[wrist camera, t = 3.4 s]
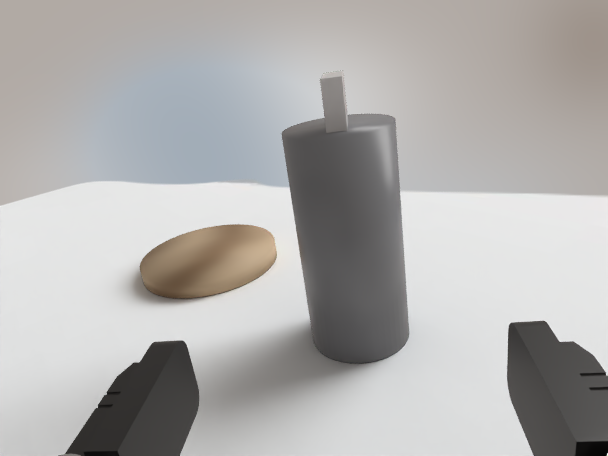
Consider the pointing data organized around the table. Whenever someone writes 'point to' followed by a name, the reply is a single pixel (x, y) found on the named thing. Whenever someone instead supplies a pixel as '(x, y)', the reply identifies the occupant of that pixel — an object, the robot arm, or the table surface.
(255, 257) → the coaster
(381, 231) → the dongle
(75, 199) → the table surface
